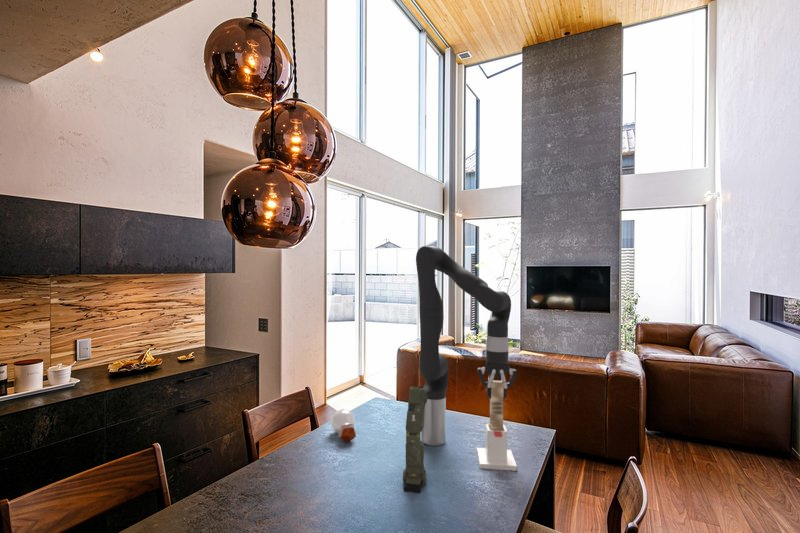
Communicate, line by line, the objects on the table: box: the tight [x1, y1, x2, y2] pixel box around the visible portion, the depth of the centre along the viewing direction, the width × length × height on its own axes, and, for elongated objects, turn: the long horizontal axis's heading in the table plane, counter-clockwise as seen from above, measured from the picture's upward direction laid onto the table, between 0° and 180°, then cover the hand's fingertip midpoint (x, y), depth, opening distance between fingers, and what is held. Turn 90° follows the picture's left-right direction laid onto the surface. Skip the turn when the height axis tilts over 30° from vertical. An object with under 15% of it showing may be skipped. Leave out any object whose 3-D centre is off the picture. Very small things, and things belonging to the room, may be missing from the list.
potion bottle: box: [330, 408, 357, 444], centre depth 156 cm, size 9×10×15 cm
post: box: [489, 379, 504, 431], centre depth 137 cm, size 4×4×22 cm
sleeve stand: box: [476, 423, 518, 472], centre depth 137 cm, size 12×12×12 cm
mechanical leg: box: [402, 385, 427, 494], centre depth 124 cm, size 14×7×30 cm, turn 169°
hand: (496, 397), depth 137 cm, fingers closed on post, 4 cm apart
